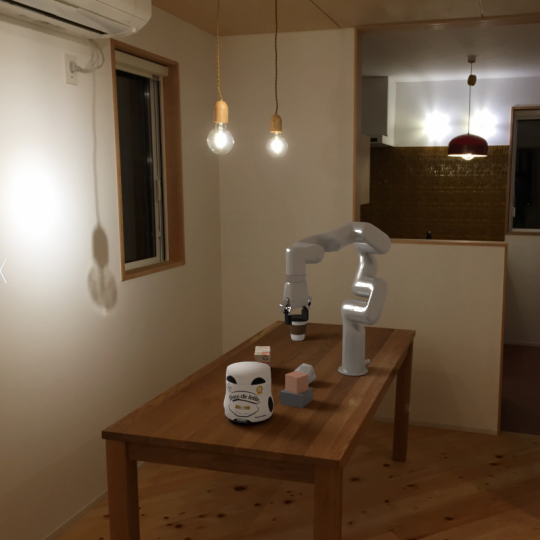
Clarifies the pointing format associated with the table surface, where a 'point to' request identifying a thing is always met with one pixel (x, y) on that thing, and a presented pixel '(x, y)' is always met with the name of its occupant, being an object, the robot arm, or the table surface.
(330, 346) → the table surface
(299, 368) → the die
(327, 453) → the table surface
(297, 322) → the coffee cup
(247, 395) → the milk container
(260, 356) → the stack of blocks
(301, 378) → the terracotta cube
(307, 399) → the charcoal block
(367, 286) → the robot arm
